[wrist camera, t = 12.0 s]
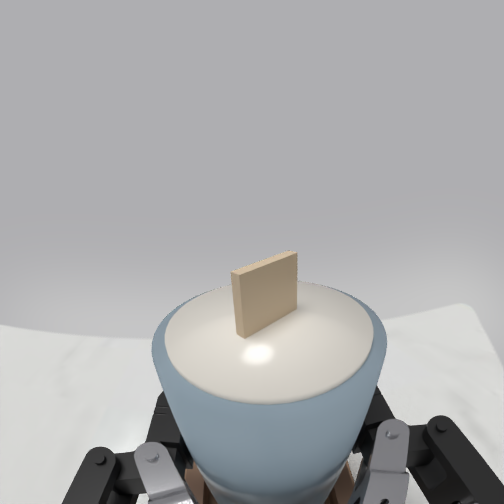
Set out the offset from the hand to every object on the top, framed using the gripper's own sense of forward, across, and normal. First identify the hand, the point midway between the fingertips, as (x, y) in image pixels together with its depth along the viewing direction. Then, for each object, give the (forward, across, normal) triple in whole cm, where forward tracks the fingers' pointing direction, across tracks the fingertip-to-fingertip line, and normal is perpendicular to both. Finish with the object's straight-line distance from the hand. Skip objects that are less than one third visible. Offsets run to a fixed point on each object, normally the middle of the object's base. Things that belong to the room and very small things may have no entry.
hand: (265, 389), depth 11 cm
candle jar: (-2, 0, +6) cm, 7 cm away
